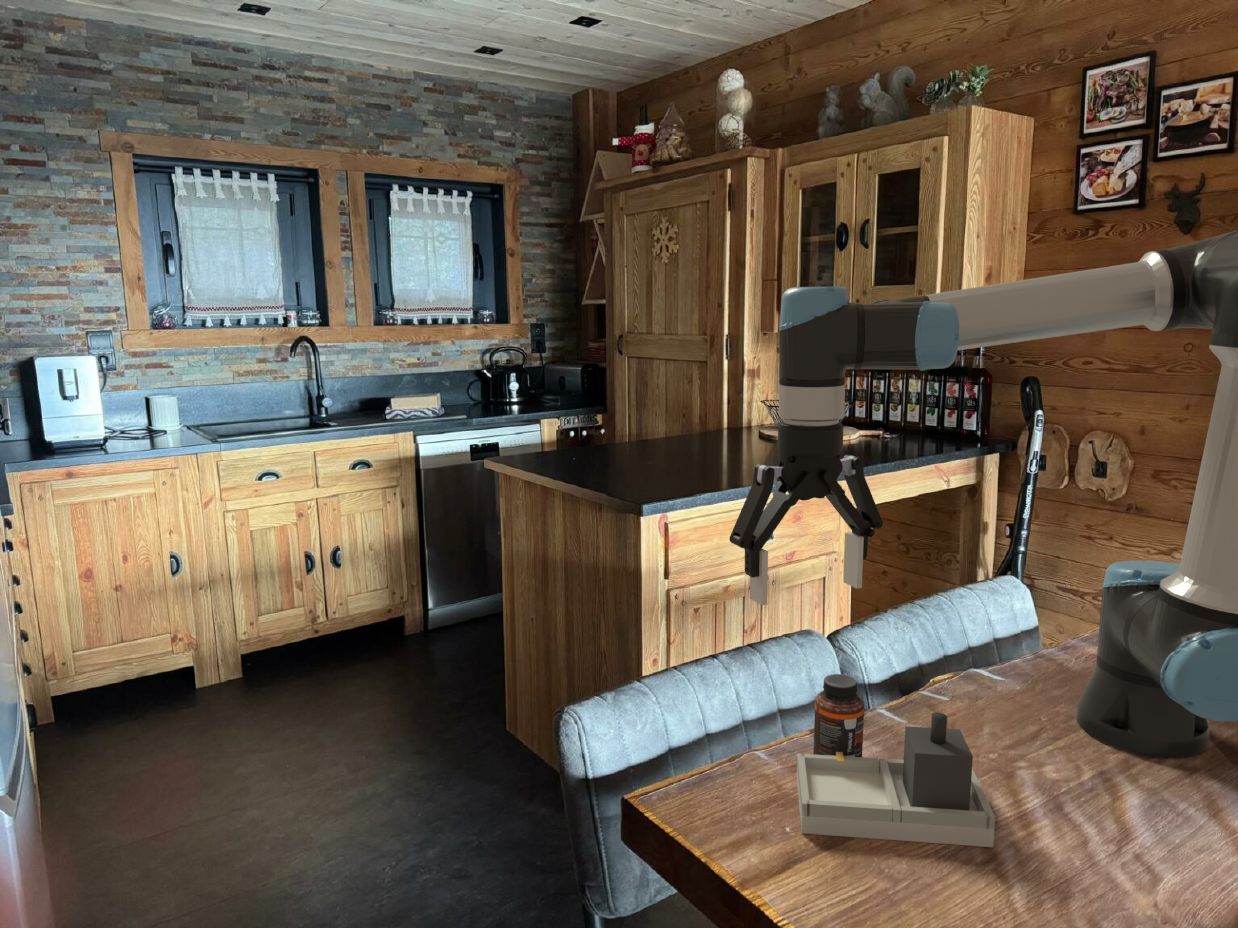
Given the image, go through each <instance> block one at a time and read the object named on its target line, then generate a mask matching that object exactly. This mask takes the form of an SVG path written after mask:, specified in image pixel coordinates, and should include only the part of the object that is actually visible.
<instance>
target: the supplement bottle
mask: <svg viewBox="0 0 1238 928" xmlns="http://www.w3.org/2000/svg"><path fill="white" fill-rule="evenodd" d="M822 688H823V690H821V691H819V693H818V694H817V695H816V696H815V701H814V719H813V720H814V721H813V724H814V727H813V754H814V755H830V756H836V752H843V756H847V757H863V747H864V746H863V745H864V744H863V743H864V741H863V740H864V725H865V723H864V722H865V719H864V718H865V702H864V699H863V698H862V696H861V695H860V694H858V682H857V680H856V678H854V677H853V676H851V675H847V674H841V673H833V674H829V675H826V676H824V678H823V685H822Z"/></svg>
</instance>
